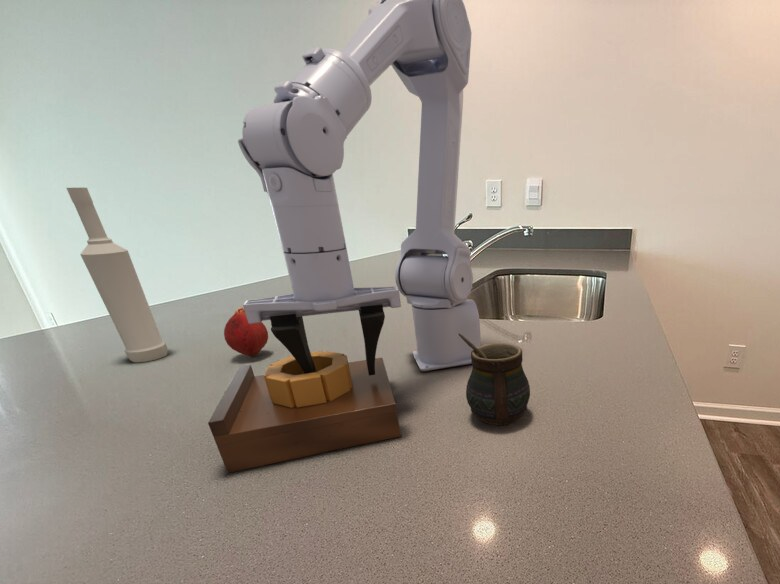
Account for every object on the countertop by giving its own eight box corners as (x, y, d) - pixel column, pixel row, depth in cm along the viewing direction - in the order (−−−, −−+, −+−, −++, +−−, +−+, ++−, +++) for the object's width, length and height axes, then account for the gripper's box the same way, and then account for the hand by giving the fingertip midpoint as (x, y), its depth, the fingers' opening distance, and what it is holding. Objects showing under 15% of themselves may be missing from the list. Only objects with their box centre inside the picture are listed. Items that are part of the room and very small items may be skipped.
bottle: (121, 360, 65) (41, 188, 55) (157, 349, 70) (89, 188, 59) (141, 364, 64) (62, 187, 53) (176, 353, 68) (110, 187, 57)
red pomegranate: (255, 364, 63) (239, 313, 59) (223, 362, 64) (206, 312, 60) (281, 351, 68) (268, 303, 64) (251, 349, 69) (237, 302, 66)
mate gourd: (536, 428, 44) (537, 341, 40) (467, 436, 43) (460, 347, 39) (524, 398, 51) (523, 320, 46) (463, 404, 50) (456, 325, 45)
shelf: (387, 384, 55) (380, 346, 53) (400, 436, 43) (393, 390, 41) (253, 407, 50) (239, 366, 48) (227, 473, 38) (207, 422, 36)
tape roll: (350, 370, 50) (346, 347, 48) (353, 398, 43) (347, 372, 42) (277, 381, 47) (270, 357, 46) (268, 413, 40) (259, 385, 39)
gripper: (219, 261, 34) (265, 404, 40) (396, 249, 39) (414, 378, 44) (236, 251, 40) (274, 376, 46) (388, 242, 45) (404, 357, 50)
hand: (343, 376), depth 46 cm, fingers open, 5 cm apart
